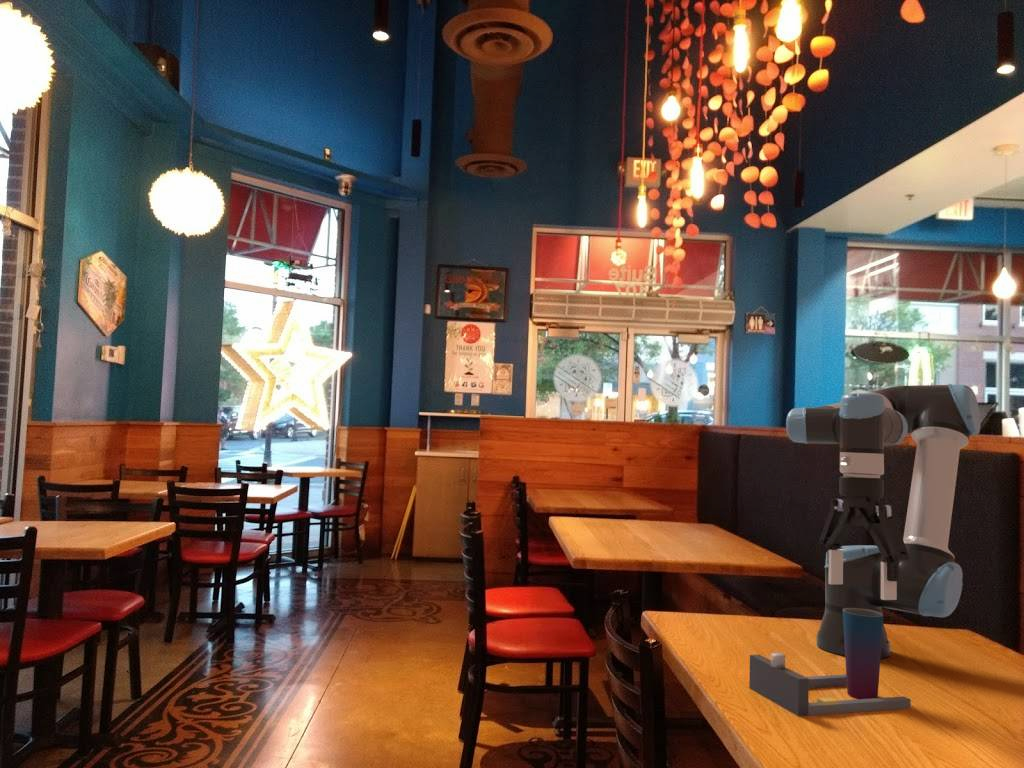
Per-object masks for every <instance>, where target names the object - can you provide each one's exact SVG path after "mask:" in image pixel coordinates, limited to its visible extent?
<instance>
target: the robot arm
mask: <svg viewBox="0 0 1024 768" xmlns="http://www.w3.org/2000/svg"><path fill="white" fill-rule="evenodd" d="M785 421H786V422H785V429H786V433H787V436H788V438H789V440H790V441H792V442H793V443H799V444H800V443H801V444H805V445H807V444H825V445H827V444H828V445H829V444H832V445H833V444H834V445H835V444H836V445H837V444H838V445H839V472H840V473H841V474H842V475H843V476H842V475H841V476H840V477H839V481H838V482H839V489H838V490H839V495H840V496H842V497H843V498H831V500H830V509H829V512H828V515H827V518H826V521H825V523H824V526H823V529H822V531H821V534H820V537H819V541H818V542H819V544H820V545H823V546H825V548H826V549H827V551H826V554H825V565H824V577H825V578H824V583H825V585H824V587H825V588H824V593H825V594H824V597H825V600H824V601H825V602H824V603H825V605H824V606H825V607H824V613H823V616H822V620H821V622H820V626H819V630H818V631H817V632H816V646H817V647H818V648H820V649H822V650H824V651H826V652H830V653H833V654H836V655H840V656H845V643H844V625H843V609H845V608H861V609H868V610H873V611H877V612H880V613H882V608H883V609H884V608H885V609H889V610H893V611H900V612H905V613H911V614H915V615H921V616H922V617H935V618H947V617H949V616H950V615H951V614H952V613H954V611H955V610H956V608H957V606H958V604H959V602H960V598H961V594H962V590H963V577H964V576H963V575H964V574H963V569H962V567H961V566H960V564H958V563H957V562H955V560H956V559H955V555H954V553H953V552H951V551H950V549H949V539H950V534H951V533H950V531H951V523H952V518H953V517H952V515H953V507H954V500H955V493H956V492H955V491H956V484H957V475H958V469H959V467H958V466H959V461H960V460H959V458H960V452H961V450H962V449H964V448H966V447H967V446H968V445H969V441H970V436H972V437H974V436H977V435H978V434H980V431H981V412H980V408H979V403H978V399H977V397H976V393H975V392H974V390H973V389H972V387H970V386H969V385H966V384H953V383H948V384H930V385H929V384H927V385H924V384H923V385H896V386H891V387H890V386H889V387H885V388H881V389H877V390H874V391H870V392H863V393H862V392H861V393H859V392H858V393H846V394H844V395H841V398H840V401H839V402H837V403H833V404H827V405H821V406H817V407H807V406H804V407H795V408H792V409H791V410H790V411H789V412H788V414H787V416H786V419H785ZM907 434H910V437H911V439H912V441H914V442H915V443H916V450H915V458H914V463H913V470H912V471H913V472H912V476H911V485H910V491H909V498H908V503H907V504H908V505H907V512H906V517H905V525H904V531H903V536H902V533H901V530H900V527H899V525H898V521H897V518H896V510H895V506H894V505H892V504H881V503H880V501H881V499H882V498H884V495H885V486H884V485H885V480H883V478H881V476H883V475H884V474H885V462H884V461H885V454H884V452H885V451H884V450H885V447H891V446H894V445H895V446H896V445H898V444H900V443H901V442H903V440H904V439H905V438H906V436H907ZM857 526H858V527H860V528H864V529H865V531H868V532H869V534H870V535H871V538H872V540H873V541H874V543H875V545H871V544H869V545H866V544H865V545H864V544H863V545H861V544H859V545H843V544H844V542H845V540H846V539H847V537H849V534H850V533H851V532H852V530H853V529H854V527H857ZM882 614H883V613H882ZM890 656H891V643H890V641H889V638H888V634H887V630H886V628H885V624H884V623H883V628H882V643H881V657H880V659H885V658H888V657H890Z"/></svg>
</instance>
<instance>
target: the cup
mask: <svg viewBox="0 0 1024 768" xmlns="http://www.w3.org/2000/svg"><path fill="white" fill-rule="evenodd" d="M883 624H884V614H883V613H880V612H877V611H873V610H868V609H861V608H845V609H843V625H844V643H845V675H846V677H847V685H846V693H847V694H848V696H850V697H851V698H855V699H872V698H879V684H880V683H879V682H880V671H881V670H880V668H881V658H880V657H881V643H882V628H883Z"/></svg>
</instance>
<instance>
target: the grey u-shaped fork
mask: <svg viewBox="0 0 1024 768" xmlns="http://www.w3.org/2000/svg"><path fill="white" fill-rule="evenodd" d="M841 686H843V687H844V686H847V677H846V674H834V675H832V674H831V675H828V674H827V675H812V676H811V675H810V676H804V675H802V674H800V673H798V672H796V671H794V670H792V669H790V668H788V667H786V654H784V653H781V652H771V653H770V659H769V658H768V657H765V656H763V655H762V654H749V689H750V690H752V691H754V692H756V693H757V694H758V695H760V696H762V697H764V698H766V699H768V700H770V701H771V702H773V703H774V704H776V705H778V706H780V707H781V708H783V709H785V710H787V711H788V712H791V713H792V714H793V715H795V716H797V717H805V716H806V717H807V716H817V715H820V716H821V715H833V714H834V715H835V714H846V713H859V712H862V713H863V712H874V711H875V712H878V711H888V710H890V711H891V710H902V709H903V710H904V709H905V710H907V709H911V708H912V707H911V703H912V702H911V701H912V700H911V698H909V697H906V696H891V697H890V696H889V697H878V698H872V699H857V698H855V699H845V700H842V699H841V700H839V699H837V698H834V697H832V696H831V697H817V700H816V701H813V702H809V692H810V689H809V688H825V687H827V688H828V687H841Z"/></svg>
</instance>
